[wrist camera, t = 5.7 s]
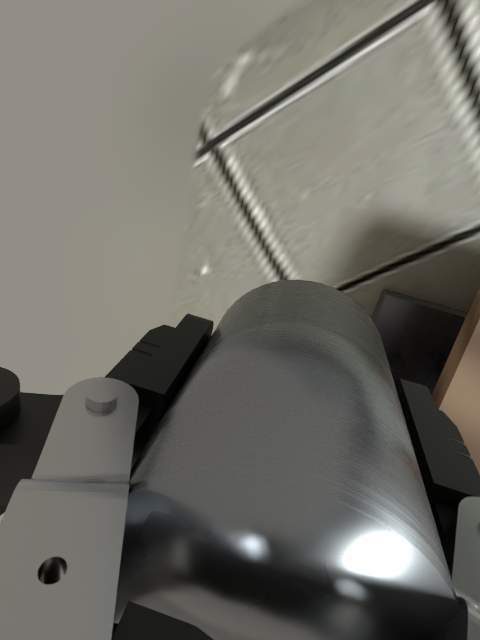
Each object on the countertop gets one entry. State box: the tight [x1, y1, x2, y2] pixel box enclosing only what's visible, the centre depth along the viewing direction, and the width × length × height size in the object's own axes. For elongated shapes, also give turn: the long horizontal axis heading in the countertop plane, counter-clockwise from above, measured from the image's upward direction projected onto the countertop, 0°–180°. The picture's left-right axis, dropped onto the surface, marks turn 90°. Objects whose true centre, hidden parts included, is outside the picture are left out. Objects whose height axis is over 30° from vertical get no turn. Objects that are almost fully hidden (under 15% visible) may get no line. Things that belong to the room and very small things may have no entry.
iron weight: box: [113, 280, 460, 640], centre depth 8 cm, size 5×5×7 cm
